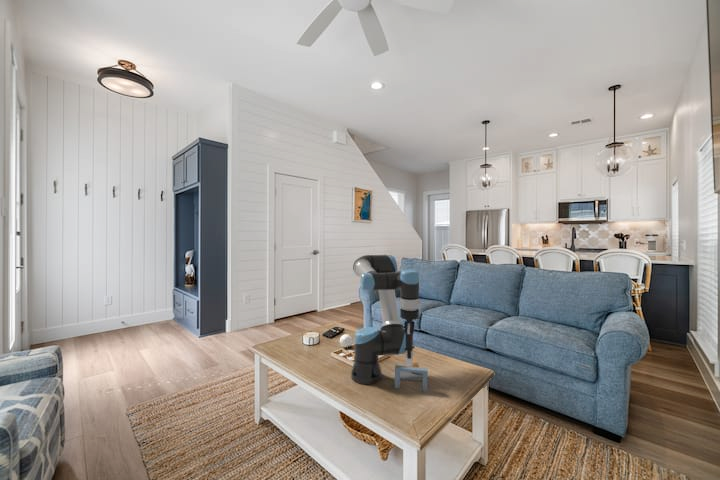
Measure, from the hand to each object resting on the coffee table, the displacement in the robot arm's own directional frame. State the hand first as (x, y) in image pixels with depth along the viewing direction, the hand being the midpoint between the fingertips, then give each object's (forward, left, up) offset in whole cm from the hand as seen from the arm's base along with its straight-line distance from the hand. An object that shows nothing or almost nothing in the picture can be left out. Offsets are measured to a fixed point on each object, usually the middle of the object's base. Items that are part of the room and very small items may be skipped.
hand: (409, 364), depth 128 cm
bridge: (0, +13, -16) cm, 21 cm away
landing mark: (0, +27, -16) cm, 32 cm away
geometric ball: (-42, +54, -17) cm, 70 cm away
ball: (0, +29, -14) cm, 32 cm away
